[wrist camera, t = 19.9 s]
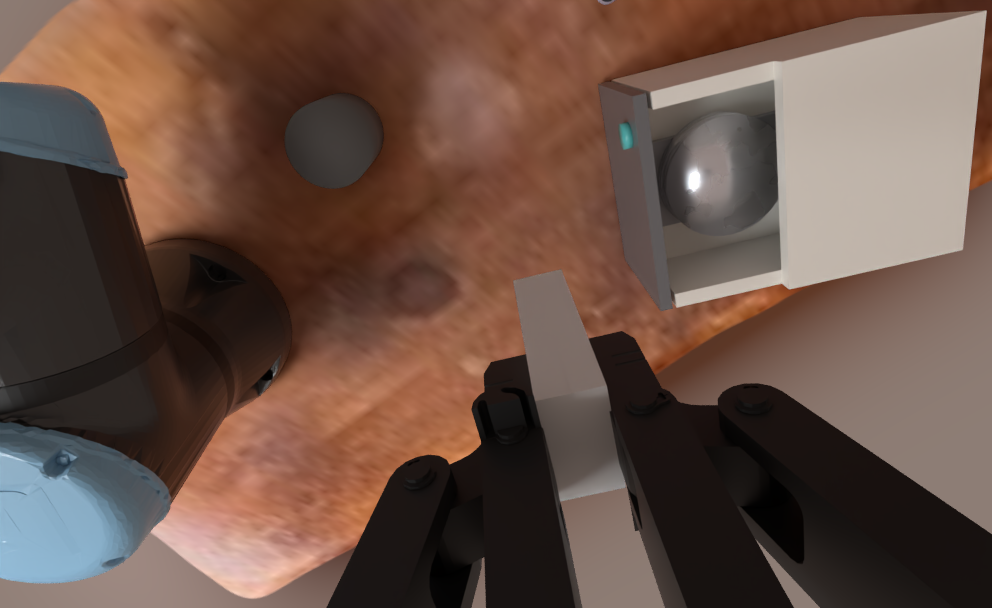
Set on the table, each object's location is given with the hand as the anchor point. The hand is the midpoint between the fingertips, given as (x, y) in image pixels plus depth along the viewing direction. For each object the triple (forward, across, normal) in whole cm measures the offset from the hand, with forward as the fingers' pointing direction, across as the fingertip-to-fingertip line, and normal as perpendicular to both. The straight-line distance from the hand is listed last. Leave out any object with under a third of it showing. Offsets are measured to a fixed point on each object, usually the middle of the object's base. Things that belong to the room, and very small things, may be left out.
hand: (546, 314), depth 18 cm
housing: (+29, +18, -4) cm, 35 cm away
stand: (+29, -11, +4) cm, 32 cm away
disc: (+24, +14, -4) cm, 28 cm away
